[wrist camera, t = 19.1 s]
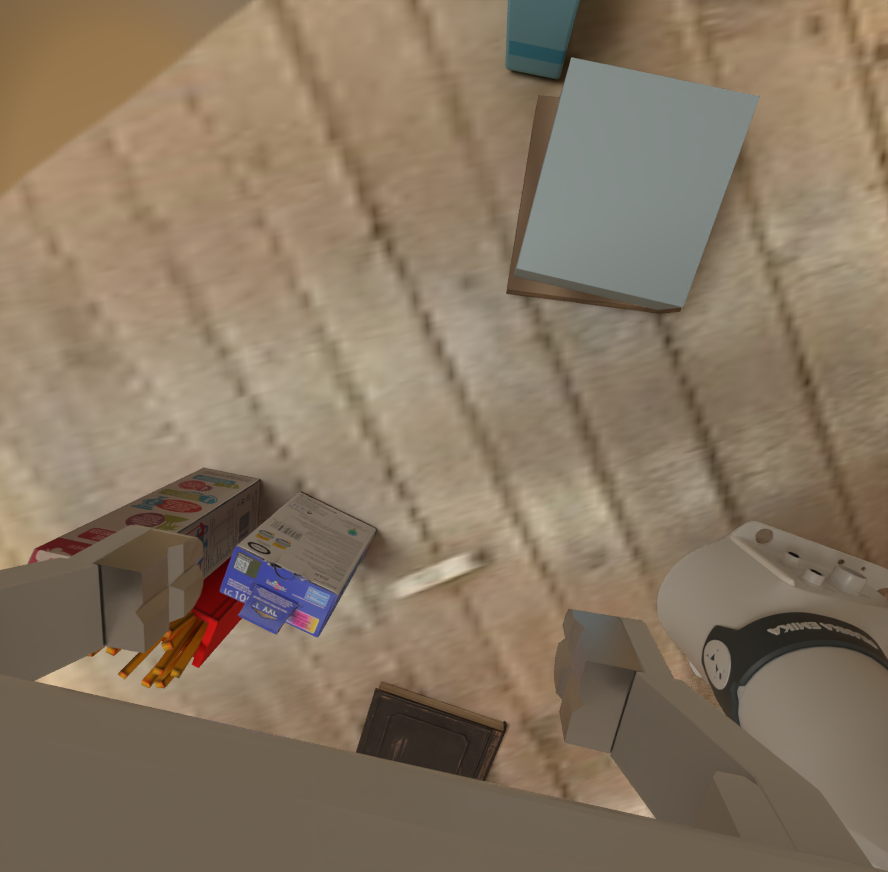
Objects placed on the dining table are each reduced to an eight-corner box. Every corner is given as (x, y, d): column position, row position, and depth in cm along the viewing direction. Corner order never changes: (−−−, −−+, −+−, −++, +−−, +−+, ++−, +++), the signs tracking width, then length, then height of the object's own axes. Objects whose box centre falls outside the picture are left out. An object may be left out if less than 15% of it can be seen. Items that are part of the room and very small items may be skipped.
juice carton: (257, 533, 50) (82, 683, 29) (202, 521, 51) (-10, 661, 29) (260, 479, 49) (77, 597, 27) (203, 467, 49) (-21, 575, 28)
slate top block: (720, 130, 32) (759, 96, 28) (658, 309, 36) (683, 307, 31) (560, 96, 33) (571, 57, 28) (513, 276, 36) (516, 268, 32)
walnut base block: (700, 141, 37) (731, 113, 32) (658, 313, 40) (680, 311, 36) (532, 124, 38) (538, 95, 33) (506, 293, 41) (507, 289, 37)
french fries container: (252, 608, 53) (168, 705, 39) (183, 573, 53) (76, 657, 39) (272, 562, 51) (192, 647, 37) (201, 526, 51) (95, 597, 37)
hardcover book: (338, 808, 60) (332, 827, 57) (380, 675, 54) (375, 690, 51) (451, 848, 59) (449, 868, 57) (505, 717, 53) (506, 734, 51)
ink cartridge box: (280, 529, 50) (197, 609, 36) (297, 488, 48) (216, 555, 34) (359, 567, 50) (306, 662, 36) (378, 528, 48) (330, 609, 34)
